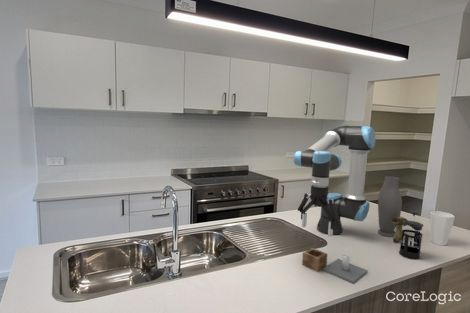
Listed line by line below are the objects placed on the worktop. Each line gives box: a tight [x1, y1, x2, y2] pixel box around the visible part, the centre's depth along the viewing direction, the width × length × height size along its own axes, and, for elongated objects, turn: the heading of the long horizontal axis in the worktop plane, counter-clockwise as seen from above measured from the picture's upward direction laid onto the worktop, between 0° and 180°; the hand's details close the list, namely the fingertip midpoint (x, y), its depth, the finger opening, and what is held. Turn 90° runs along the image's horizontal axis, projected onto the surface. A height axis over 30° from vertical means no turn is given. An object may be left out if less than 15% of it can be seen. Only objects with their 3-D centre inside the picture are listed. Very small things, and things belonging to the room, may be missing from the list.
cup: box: [429, 210, 456, 247], centre depth 164 cm, size 11×10×17 cm
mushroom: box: [391, 216, 409, 243], centre depth 163 cm, size 9×9×15 cm
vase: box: [377, 175, 403, 238], centre depth 174 cm, size 13×13×35 cm
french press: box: [398, 210, 424, 260], centre depth 147 cm, size 12×9×23 cm
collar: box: [301, 247, 328, 273], centre depth 135 cm, size 8×8×6 cm
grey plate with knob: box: [322, 254, 368, 285], centre depth 130 cm, size 14×14×7 cm
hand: (316, 231), depth 133 cm, fingers open, 13 cm apart
